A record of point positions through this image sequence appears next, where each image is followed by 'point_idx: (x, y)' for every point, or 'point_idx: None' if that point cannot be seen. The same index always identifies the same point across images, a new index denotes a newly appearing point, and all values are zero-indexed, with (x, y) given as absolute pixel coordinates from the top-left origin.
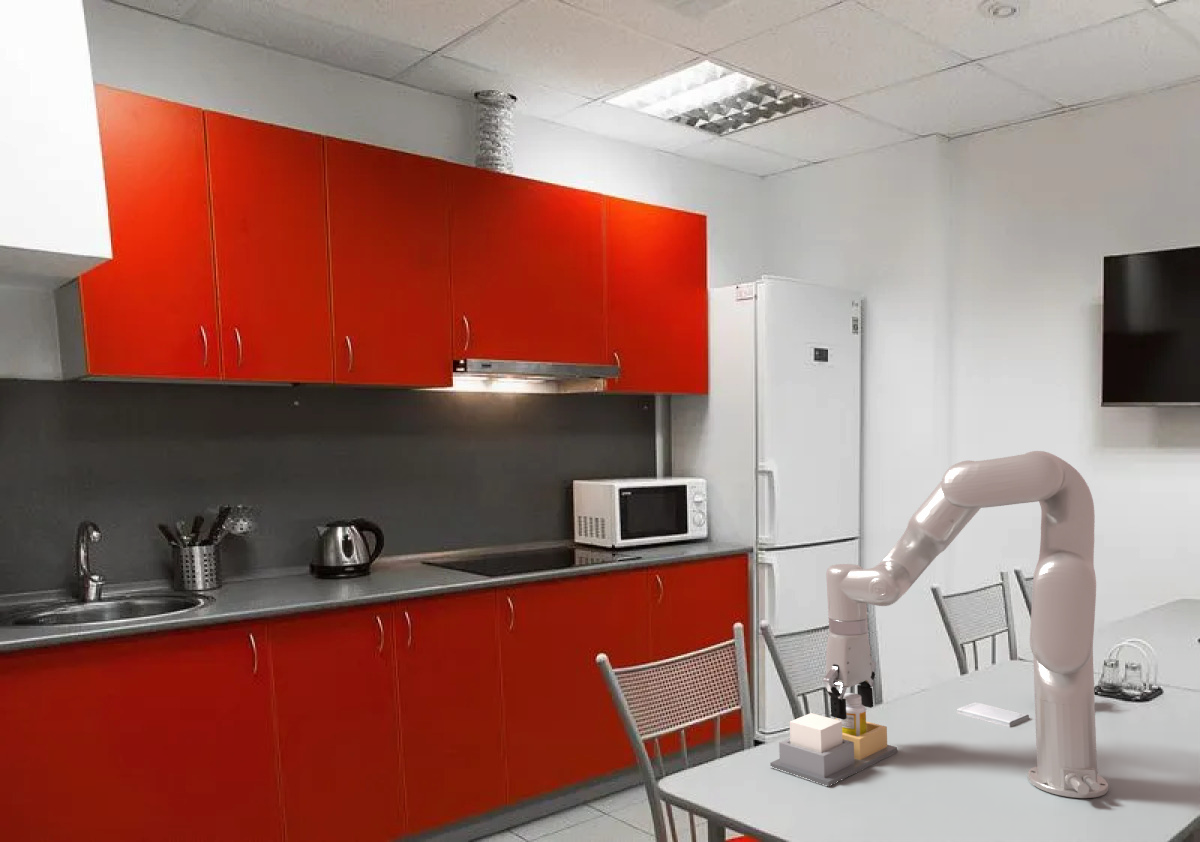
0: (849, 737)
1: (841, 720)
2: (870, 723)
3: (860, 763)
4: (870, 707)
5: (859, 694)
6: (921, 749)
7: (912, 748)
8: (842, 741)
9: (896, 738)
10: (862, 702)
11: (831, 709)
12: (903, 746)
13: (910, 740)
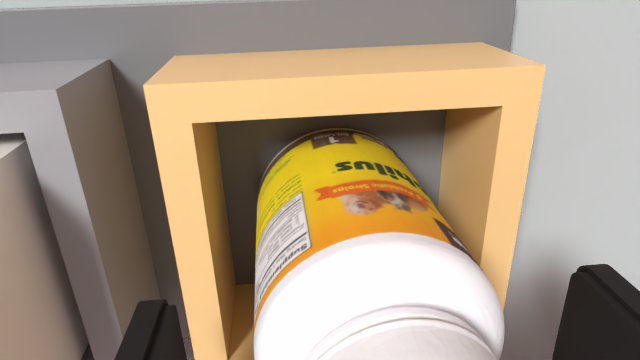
0: (191, 332)
1: (256, 281)
2: (492, 281)
3: (181, 329)
4: (557, 355)
5: (638, 350)
6: (553, 332)
7: (545, 308)
8: (93, 353)
9: (631, 207)
10: (582, 321)
11: (125, 346)
12: (547, 277)
13: (635, 257)
